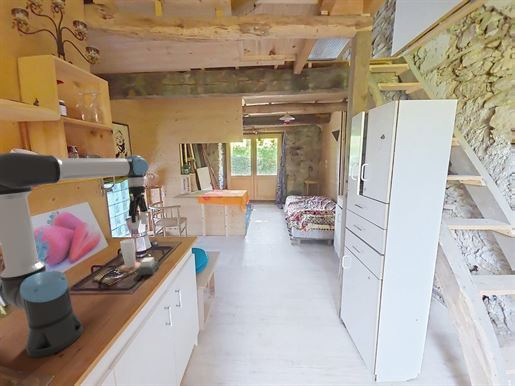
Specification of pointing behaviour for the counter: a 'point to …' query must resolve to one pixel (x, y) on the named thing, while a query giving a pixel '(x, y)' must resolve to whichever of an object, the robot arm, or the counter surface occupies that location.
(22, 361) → the counter surface
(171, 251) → the counter surface
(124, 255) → the drinking glass
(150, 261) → the button
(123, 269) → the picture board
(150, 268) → the button housing
